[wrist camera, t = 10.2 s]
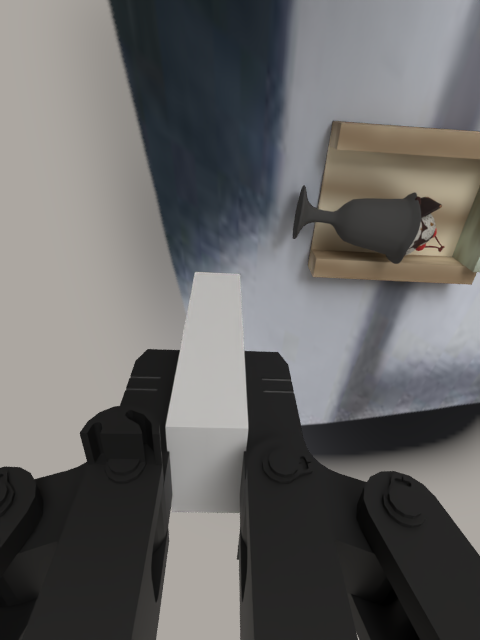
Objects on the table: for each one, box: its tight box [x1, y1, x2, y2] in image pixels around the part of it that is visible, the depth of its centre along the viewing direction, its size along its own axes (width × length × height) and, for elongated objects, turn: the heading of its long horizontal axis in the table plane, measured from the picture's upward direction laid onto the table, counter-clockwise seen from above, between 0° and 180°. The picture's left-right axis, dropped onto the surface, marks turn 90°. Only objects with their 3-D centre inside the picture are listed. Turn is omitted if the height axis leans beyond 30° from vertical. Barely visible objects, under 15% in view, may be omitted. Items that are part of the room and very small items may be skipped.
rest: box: [308, 121, 480, 285], centre depth 35 cm, size 14×17×4 cm
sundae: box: [293, 185, 444, 264], centre depth 34 cm, size 7×7×15 cm
